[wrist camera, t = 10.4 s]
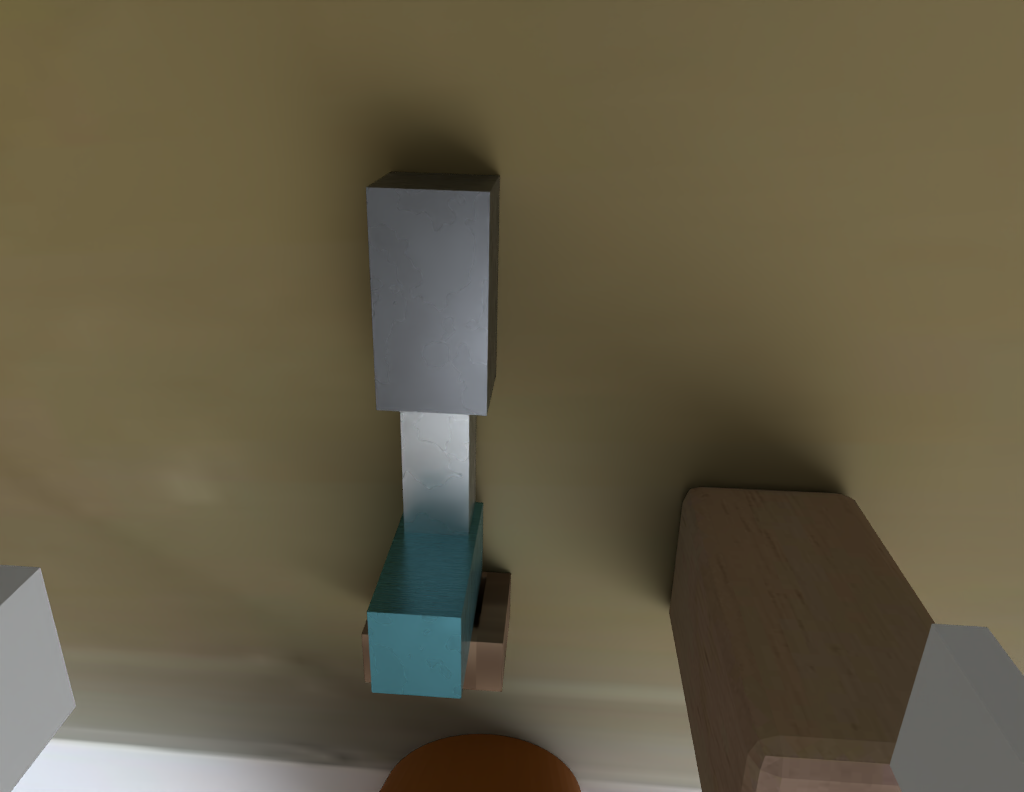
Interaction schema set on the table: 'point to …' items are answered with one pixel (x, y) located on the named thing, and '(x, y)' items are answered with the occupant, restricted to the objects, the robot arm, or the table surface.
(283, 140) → the table surface
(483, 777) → the flower pot
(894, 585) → the wooden block
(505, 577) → the socket
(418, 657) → the teal square post
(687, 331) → the table surface
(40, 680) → the robot arm
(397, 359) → the grey rectangular block
